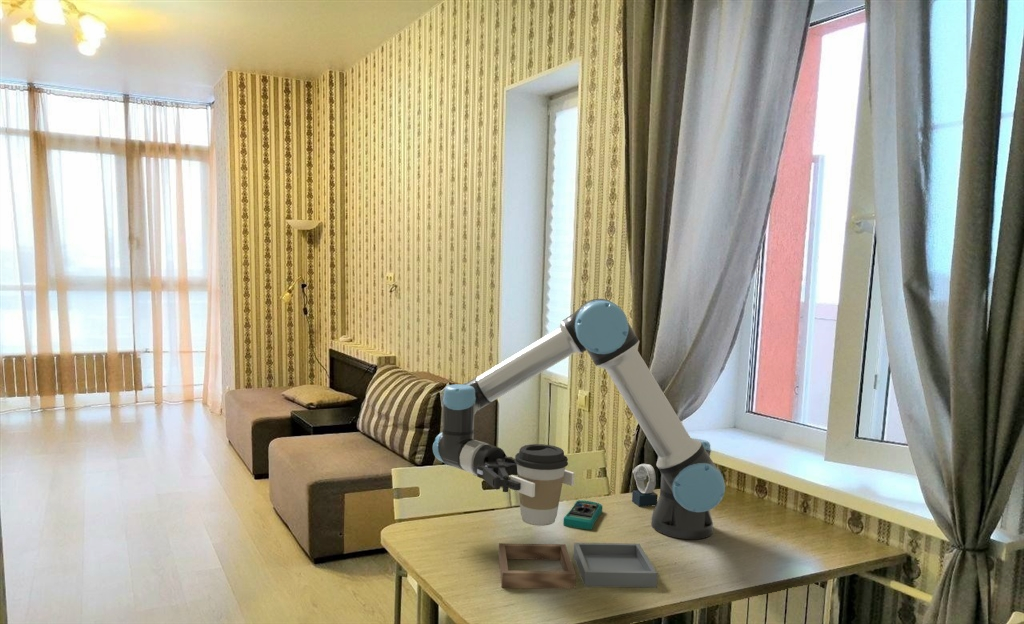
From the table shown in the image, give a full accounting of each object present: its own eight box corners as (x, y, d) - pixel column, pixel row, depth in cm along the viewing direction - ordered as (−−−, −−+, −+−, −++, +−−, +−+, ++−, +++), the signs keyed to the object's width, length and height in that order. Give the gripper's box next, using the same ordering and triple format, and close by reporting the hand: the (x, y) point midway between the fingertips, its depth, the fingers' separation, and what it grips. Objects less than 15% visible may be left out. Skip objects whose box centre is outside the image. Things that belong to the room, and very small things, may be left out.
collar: (564, 557, 153) (565, 544, 153) (574, 588, 138) (575, 574, 138) (498, 556, 152) (499, 543, 152) (501, 587, 137) (502, 573, 137)
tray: (638, 556, 155) (639, 543, 155) (656, 587, 140) (657, 573, 140) (573, 555, 154) (573, 542, 154) (584, 586, 139) (585, 572, 139)
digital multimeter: (602, 512, 184) (603, 502, 184) (591, 532, 170) (591, 520, 170) (576, 508, 186) (576, 498, 186) (562, 527, 172) (562, 516, 172)
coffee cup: (545, 506, 152) (548, 440, 151) (576, 524, 143) (579, 453, 142) (501, 514, 146) (504, 445, 145) (531, 533, 137) (534, 459, 136)
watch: (646, 498, 196) (648, 460, 195) (660, 507, 188) (662, 468, 188) (628, 499, 194) (630, 461, 194) (641, 509, 187) (644, 469, 186)
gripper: (520, 467, 165) (589, 491, 150) (442, 486, 149) (511, 515, 133) (521, 436, 165) (591, 457, 149) (443, 452, 148) (513, 477, 133)
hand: (554, 484), depth 141 cm, fingers closed on coffee cup, 11 cm apart
